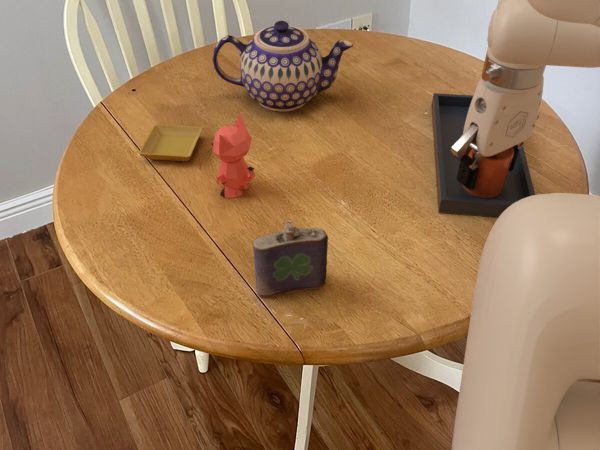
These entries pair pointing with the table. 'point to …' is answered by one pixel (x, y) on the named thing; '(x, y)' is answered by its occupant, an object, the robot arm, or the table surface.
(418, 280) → the table surface
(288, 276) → the flask
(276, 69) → the teapot
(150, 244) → the table surface
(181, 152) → the yellow square dish
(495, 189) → the flower pot
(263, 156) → the table surface
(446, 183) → the tray
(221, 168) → the cat figurine
